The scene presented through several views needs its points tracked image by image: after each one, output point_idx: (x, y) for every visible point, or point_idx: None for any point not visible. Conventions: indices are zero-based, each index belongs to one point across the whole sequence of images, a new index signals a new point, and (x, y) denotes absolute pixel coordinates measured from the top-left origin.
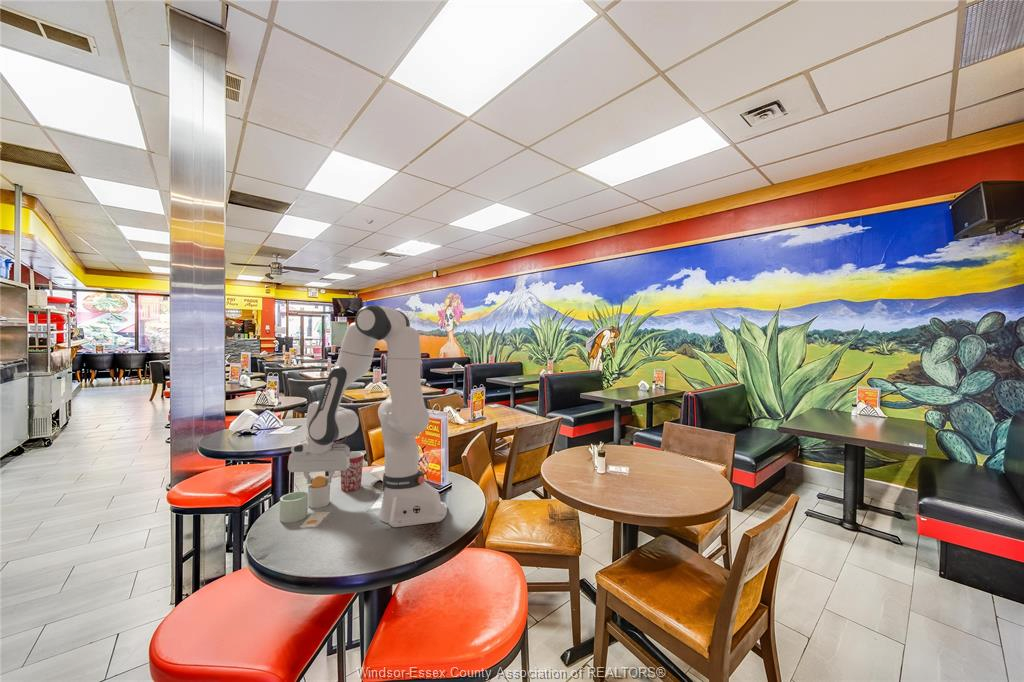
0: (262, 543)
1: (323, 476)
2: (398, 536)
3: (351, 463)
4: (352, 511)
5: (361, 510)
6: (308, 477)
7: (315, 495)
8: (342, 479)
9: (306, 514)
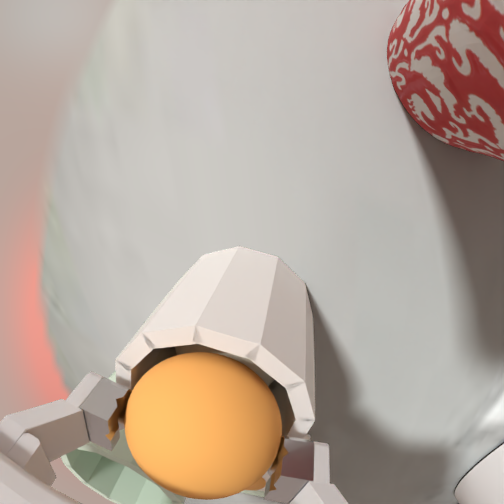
0: None
1: (230, 481)
2: None
3: None
4: (409, 439)
5: (443, 436)
6: (73, 440)
7: None
8: (443, 103)
9: None
